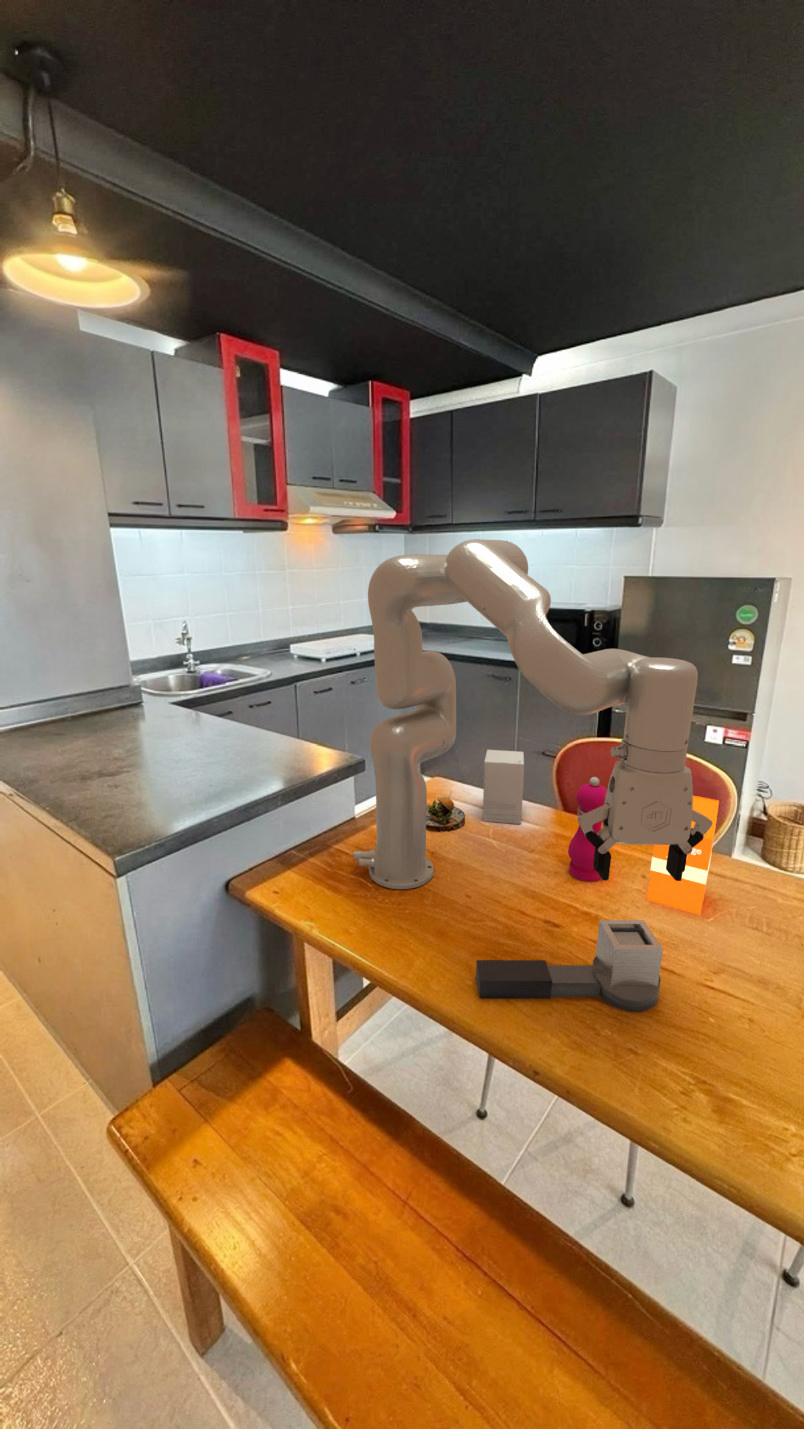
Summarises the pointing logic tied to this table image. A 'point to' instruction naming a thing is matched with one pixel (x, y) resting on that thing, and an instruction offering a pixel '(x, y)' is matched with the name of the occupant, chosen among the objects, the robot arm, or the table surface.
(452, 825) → the burger
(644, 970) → the socket
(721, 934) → the table surface
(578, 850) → the pepper mill
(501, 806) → the supplement box
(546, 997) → the ratchet
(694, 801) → the orange juice
